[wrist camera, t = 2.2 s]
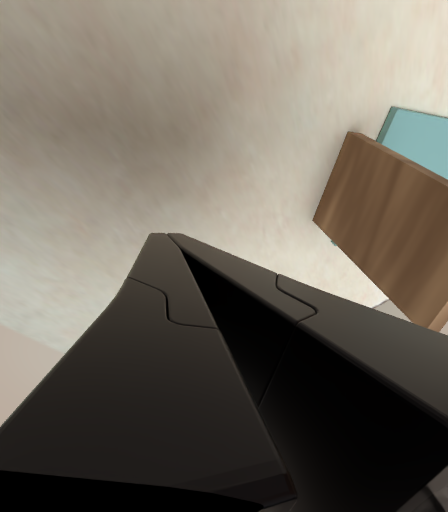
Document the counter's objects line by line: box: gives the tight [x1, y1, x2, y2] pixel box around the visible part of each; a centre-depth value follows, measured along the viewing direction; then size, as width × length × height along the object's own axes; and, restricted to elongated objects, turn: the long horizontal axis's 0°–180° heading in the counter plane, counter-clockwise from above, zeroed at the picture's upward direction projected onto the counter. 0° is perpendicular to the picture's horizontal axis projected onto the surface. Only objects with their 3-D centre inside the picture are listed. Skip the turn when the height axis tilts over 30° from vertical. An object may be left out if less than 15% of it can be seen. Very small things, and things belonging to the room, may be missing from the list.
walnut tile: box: [312, 132, 448, 332], centre depth 22 cm, size 1×7×12 cm, turn 168°
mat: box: [331, 107, 448, 246], centre depth 29 cm, size 13×11×1 cm
